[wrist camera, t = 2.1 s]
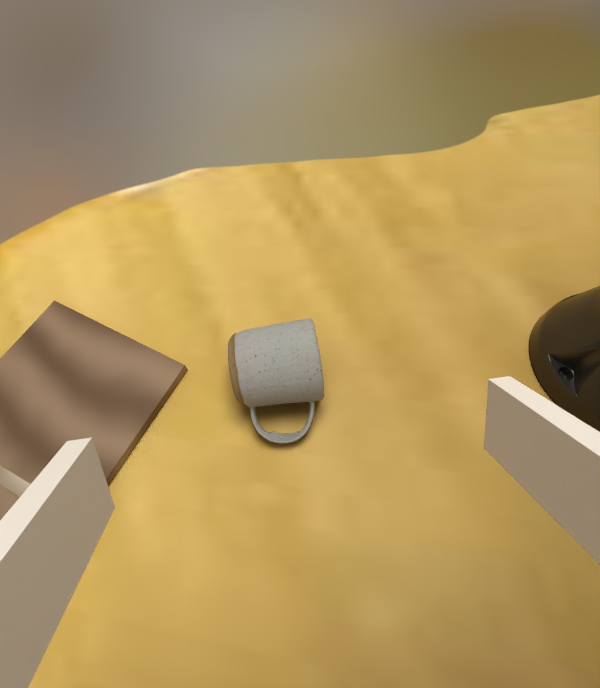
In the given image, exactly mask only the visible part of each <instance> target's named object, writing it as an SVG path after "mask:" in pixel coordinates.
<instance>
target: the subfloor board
mask: <svg viewBox="0 0 600 688" xmlns="http://www.w3.org/2000/svg"><path fill="white" fill-rule="evenodd" d="M187 370H188V369H187V368H186V366H185V365H183V364H181V363H179V362H177V361H175V360H173V359H171V358H169V357H167V356H165V355H163V354H161V353H159V352H157V351H155V350H153V349H151V348H149V347H147V346H145V345H143V344H141V343H139V342H137V341H135V340H133V339H131V338H129V337H127V336H125V335H123V334H121V333H119V332H117V331H115V330H113V329H111V328H108V327H106V326H104V325H102V324H100V323H98V322H96V321H94V320H92V319H90V318H88V317H86V316H84V315H82V314H80V313H78V312H76V311H74V310H72V309H70V308H68V307H66V306H64V305H62V304H60V303H58V302H56V301H54V302H53V303H52V304H51V305H50V306H49V307H48V308H47V309H46V310H45V311H44V312H43V314H42V315H41V316H40V317H39V318H38V319H37V320H36V321H35V322H34V323H33V324H32V325H31V326H30V327H29V329H28V330H27V331H26V332H25V333H24V334H23V335H22V336H21V337H20V338H19V339H18V340H17V341H16V342H15V344H14V345H13V346H12V347H11V348H10V349H9V350H8V351H7V352H6V353H5V354H4V355H3V356H2V357H1V359H0V520H1V519H2V518H3V517H4V516H5V514H6V513H7V512H8V511H9V510H10V508H11V507H12V506H13V505H14V504H15V503H16V501H17V500H18V499H19V498H20V497H21V495H22V494H23V493H24V492H25V491H26V489H27V488H28V487H29V486H30V485H31V483H32V482H33V481H34V480H35V479H36V477H37V476H38V475H39V474H40V473H41V472H42V470H43V469H44V468H45V467H46V466H47V464H48V463H49V462H50V461H51V460H52V458H53V457H54V456H55V455H56V454H57V452H58V451H59V450H60V449H61V448H62V446H63V445H64V444H65V443H66V442H67V441H71V440H78V439H85V438H91V437H92V438H93V442H94V445H95V448H96V451H97V454H98V457H99V460H100V463H101V466H102V469H103V472H104V475H105V478H106V481H107V484H108V486H109V485H110V483H111V482H112V480H113V479H114V477H115V476H116V474H117V473H118V471H119V470H120V468H121V467H122V465H123V464H124V463H125V461H126V460H127V458H128V457H129V455H130V454H131V452H132V451H133V449H134V448H135V446H136V445H137V443H138V442H139V441H140V439H141V438H142V436H143V435H144V433H145V432H146V430H147V429H148V427H149V426H150V424H151V423H152V421H153V420H154V419H155V417H156V416H157V414H158V413H159V411H160V410H161V408H162V407H163V405H164V404H165V402H166V401H167V399H168V398H169V397H170V395H171V394H172V392H173V391H174V389H175V388H176V386H177V385H178V383H179V382H180V380H181V379H182V377H183V376H184V374H185V373H186V372H187Z"/></svg>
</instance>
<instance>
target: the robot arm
mask: <svg viewBox="0 0 600 688" xmlns="http://www.w3.org/2000/svg"><path fill="white" fill-rule="evenodd" d="M529 351H530V358H531V363H532V366H533V369H534V371H535V374H536V376H537V378H538V380H539V381H540V383H541V385H542V386H543V388H544V389H545V390H546V392H547V393H548V394H549V396H550V397H551V398H552V399H553V400H554V401H555V402H556V403H557V404H558V405H559V406H560V407H561V408H560V407H559V406H557V405H555V404H554V403H552V402H551V401H549V400H547V399H546V398H544V397H542V396H541V395H539V394H538V393H536V392H534V391H533V390H531V389H530V388H528V387H526V386H525V385H523V384H522V383H520V382H518V381H517V380H515V379H514V378H512V377H510V376H507V377H500V378H494V379H488V394H487V409H486V424H485V439H484V449H485V450H486V451H487V452H488V453H489V454H490V455H491V456H492V457H493V458H494V459H495V460H496V461H497V462H498V463H499V464H500V465H501V466H502V467H503V468H504V469H505V470H506V471H507V472H508V473H509V474H510V475H511V476H512V477H513V478H514V479H515V480H516V481H517V482H518V483H519V484H520V485H521V486H522V487H523V488H524V489H525V490H526V491H527V492H528V493H529V494H530V495H531V496H532V497H533V498H534V499H535V500H536V501H537V502H538V503H539V504H540V505H541V506H542V507H543V508H544V509H545V510H546V511H547V512H548V513H549V514H550V515H551V516H552V517H553V518H554V519H555V520H556V521H557V522H558V523H559V524H560V525H561V526H562V527H563V528H564V529H565V530H566V531H567V532H568V533H569V534H570V535H571V536H572V537H573V538H574V539H575V540H576V541H577V542H578V543H579V544H580V545H581V546H582V547H583V548H584V549H585V550H586V551H587V552H588V553H589V554H590V555H591V556H592V557H593V558H594V559H595V560H596V561H597V562H598V563H599V564H600V432H599V431H600V286H598V287H596V288H593V289H591V290H588V291H586V292H583V293H580V294H576V295H573V296H570V297H567V298H565V299H563V300H562V301H560V302H558V303H557V304H555V305H554V306H553V307H552V308H551V309H549V310H548V311H547V312H546V313H545V314H544V315H543V316H542V317H540V319H539V320H538V321H537V323H536V324H535V326H534V328H533V330H532V333H531V336H530V343H529ZM596 429H597V430H599V431H597V430H596ZM114 508H115V506H114V503H113V500H112V497H111V494H110V491H109V488H108V484H107V481H106V478H105V475H104V472H103V469H102V466H101V463H100V460H99V457H98V454H97V451H96V448H95V445H94V442H93V438H92V437H91V438H85V439H78V440H71V441H67V442H66V443H65V444H64V445H63V446H62V448H61V449H60V450H59V451H58V452H57V454H56V455H55V456H54V457H53V458H52V460H51V461H50V462H49V463H48V464H47V466H46V467H45V468H44V469H43V470H42V472H41V473H40V474H39V475H38V476H37V477H36V479H35V480H34V481H33V482H32V483H31V485H30V486H29V487H28V488H27V489H26V491H25V492H24V493H23V494H22V495H21V497H20V498H19V499H18V500H17V501H16V503H15V504H14V505H13V506H12V507H11V508H10V510H9V511H8V512H7V513H6V514H5V516H4V517H3V518H2V519H1V520H0V688H28V687H29V685H30V683H31V681H32V679H33V676H34V674H35V672H36V670H37V668H38V666H39V664H40V662H41V660H42V658H43V656H44V654H45V652H46V649H47V647H48V645H49V643H50V641H51V639H52V637H53V635H54V633H55V631H56V629H57V627H58V625H59V622H60V620H61V618H62V616H63V614H64V612H65V610H66V608H67V606H68V604H69V602H70V600H71V598H72V595H73V593H74V591H75V589H76V587H77V585H78V583H79V581H80V579H81V577H82V575H83V573H84V571H85V569H86V566H87V564H88V562H89V560H90V558H91V556H92V554H93V552H94V550H95V548H96V546H97V544H98V542H99V539H100V537H101V535H102V533H103V531H104V529H105V527H106V525H107V523H108V521H109V519H110V517H111V515H112V512H113V510H114Z"/></svg>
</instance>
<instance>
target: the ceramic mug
mask: <svg viewBox="0 0 600 688" xmlns="http://www.w3.org/2000/svg"><path fill="white" fill-rule="evenodd" d="M228 362H229V370H230V377H231V382H232V387H233V391H234V394H235V397H236V399H237V401H238V402H239V403H240V404H242V405H244V406H248V407H249V408H250V413H251V419H252V421H253V425H254V426H255V428H256V430H257V432H258V433H259V434H260V435H261V436H262V437H264V438H265V439H267V440H269V441H271V442H275V443H291V442H295V441H297V440H299V439H300V438H301V437H303V436H304V435H305V434H306V432H307V431H308V429H309V428H310V426H311V423H312V421H313V417H314V408H315V401H318V400H322V399H323V397H324V384H323V374H322V367H321V359H320V352H319V347H318V341H317V336H316V331H315V326H314V322H313V321H312V319H302V320H297V321H292V322H286V323H281V324H275V325H270V326H265V327H258V328H252V329H247V330H244V331H241V332H239V333H236V334H234V335H232V337H231V338H230V340H229V343H228ZM298 402H309V403H310V409H309V416H308V419H307V422H306V424H305V426H304V427H303V429H302V430H301V431H298V432H296V433H276V432H275V431H274V432H271V433H269V432H266V431H265V430H264V428H263V427H262V426H261V425H260V423H259V421H258V418H257V415H256V408H255V407H259V406H268V405H276V404H285V403H298Z"/></svg>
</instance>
